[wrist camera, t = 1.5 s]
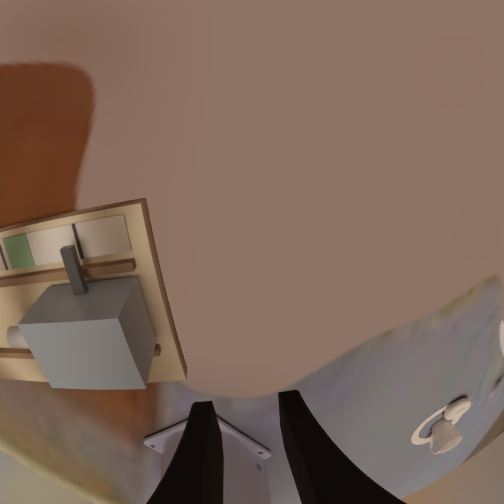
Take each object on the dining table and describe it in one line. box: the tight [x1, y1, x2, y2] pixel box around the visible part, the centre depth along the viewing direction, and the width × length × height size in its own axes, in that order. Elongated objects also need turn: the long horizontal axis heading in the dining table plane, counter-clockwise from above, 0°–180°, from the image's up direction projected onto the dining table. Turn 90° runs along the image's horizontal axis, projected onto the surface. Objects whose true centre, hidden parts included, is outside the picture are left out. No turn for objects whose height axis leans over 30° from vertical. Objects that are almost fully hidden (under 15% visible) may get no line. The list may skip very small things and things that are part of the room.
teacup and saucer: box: [411, 321, 504, 454], centre depth 28 cm, size 9×8×4 cm
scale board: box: [0, 198, 187, 383], centre depth 15 cm, size 18×12×6 cm, turn 96°
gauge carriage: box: [7, 244, 156, 389], centre depth 15 cm, size 9×7×4 cm
